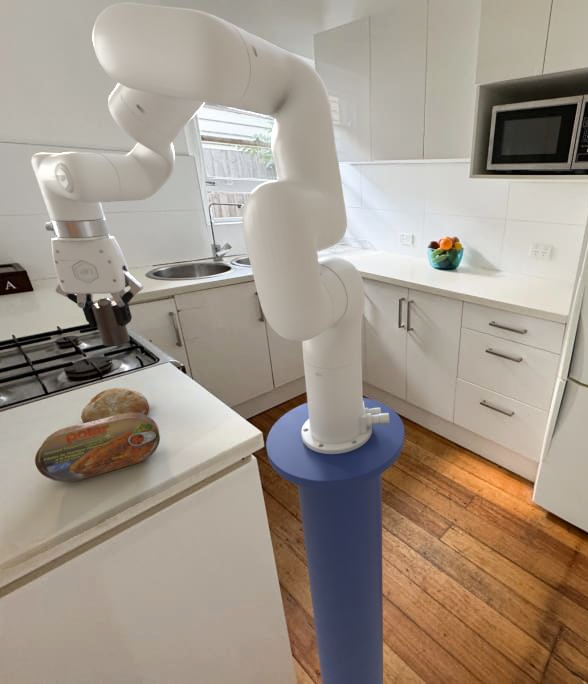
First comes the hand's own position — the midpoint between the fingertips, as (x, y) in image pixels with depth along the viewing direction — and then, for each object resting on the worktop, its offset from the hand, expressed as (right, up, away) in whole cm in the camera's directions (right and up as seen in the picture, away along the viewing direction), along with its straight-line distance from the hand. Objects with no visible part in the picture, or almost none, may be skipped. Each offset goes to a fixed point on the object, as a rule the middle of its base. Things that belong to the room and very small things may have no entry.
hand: (111, 323), depth 76 cm
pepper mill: (0, -4, +2) cm, 4 cm away
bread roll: (+4, -19, -3) cm, 19 cm away
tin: (+11, -24, -14) cm, 30 cm away
